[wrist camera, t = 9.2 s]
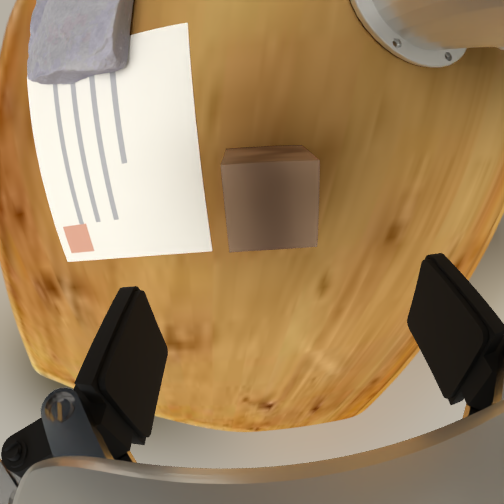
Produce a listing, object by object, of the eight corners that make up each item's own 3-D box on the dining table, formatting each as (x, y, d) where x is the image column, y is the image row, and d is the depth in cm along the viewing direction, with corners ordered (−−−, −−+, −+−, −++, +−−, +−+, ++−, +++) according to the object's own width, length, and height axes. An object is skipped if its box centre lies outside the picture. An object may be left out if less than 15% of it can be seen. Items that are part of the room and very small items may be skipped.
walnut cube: (301, 145, 22) (319, 160, 17) (301, 213, 25) (317, 246, 20) (226, 148, 22) (220, 165, 17) (232, 217, 25) (229, 252, 20)
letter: (187, 23, 17) (187, 22, 17) (212, 250, 27) (212, 251, 27) (28, 76, 17) (26, 76, 17) (68, 260, 27) (67, 261, 27)
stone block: (54, 91, 20) (138, 71, 18) (16, 94, 15) (100, 66, 14) (66, -12, 14) (152, -45, 13) (34, -20, 10) (123, -66, 9)
